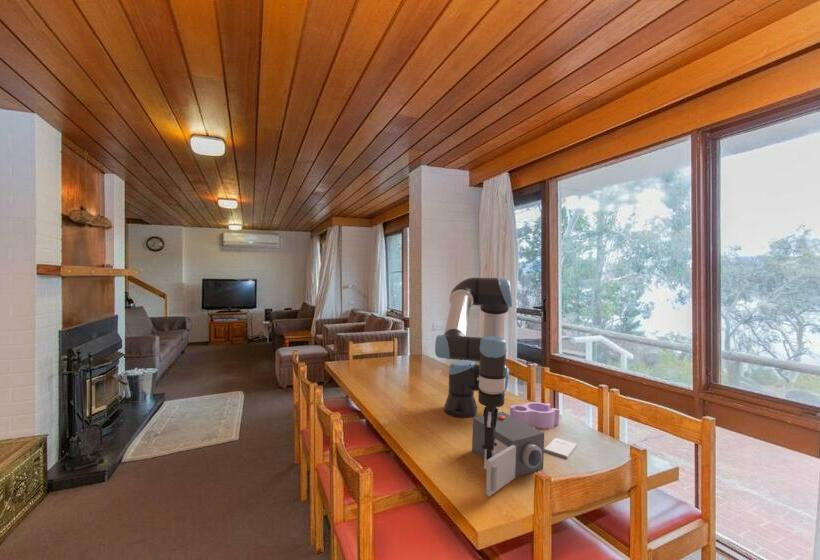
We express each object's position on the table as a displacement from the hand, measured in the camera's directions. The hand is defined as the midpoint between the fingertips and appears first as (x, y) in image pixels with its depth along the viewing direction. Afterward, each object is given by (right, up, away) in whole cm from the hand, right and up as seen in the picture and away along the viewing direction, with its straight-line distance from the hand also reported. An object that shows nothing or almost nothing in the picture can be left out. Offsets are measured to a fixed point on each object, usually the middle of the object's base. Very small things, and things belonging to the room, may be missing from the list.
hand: (489, 468), depth 108 cm
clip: (+30, -6, +49) cm, 58 cm away
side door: (+4, -6, 0) cm, 7 cm away
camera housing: (+10, -6, +17) cm, 21 cm away
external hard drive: (+32, -7, +27) cm, 43 cm away
